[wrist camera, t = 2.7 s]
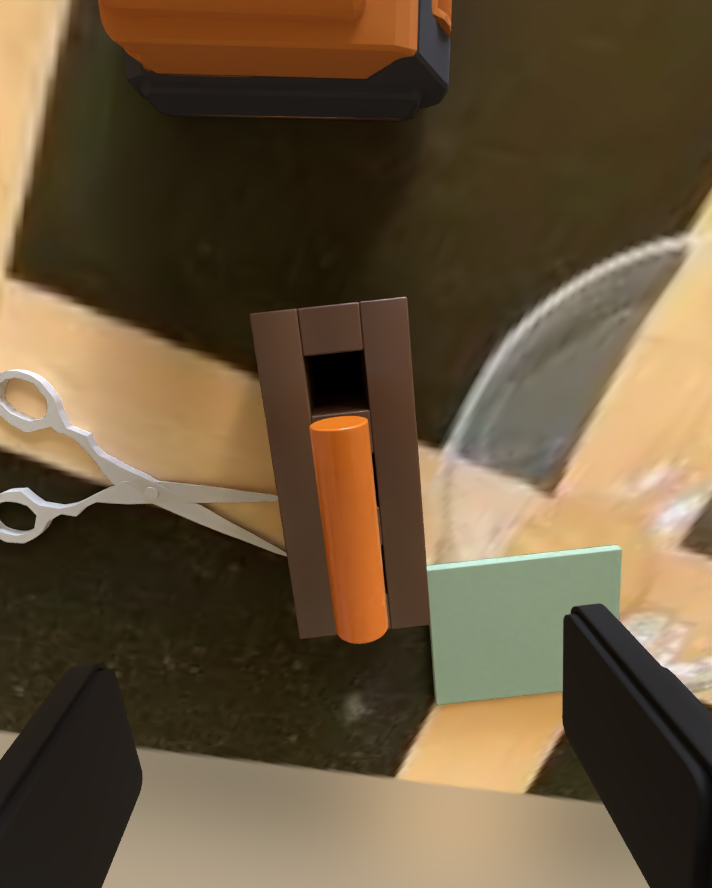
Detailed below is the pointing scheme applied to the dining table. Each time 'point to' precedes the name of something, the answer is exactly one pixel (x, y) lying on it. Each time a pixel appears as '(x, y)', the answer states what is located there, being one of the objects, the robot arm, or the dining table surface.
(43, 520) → the scissors
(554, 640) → the mat
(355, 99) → the power drill
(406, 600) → the rack
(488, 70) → the dining table surface
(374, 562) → the t handle
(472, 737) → the dining table surface
